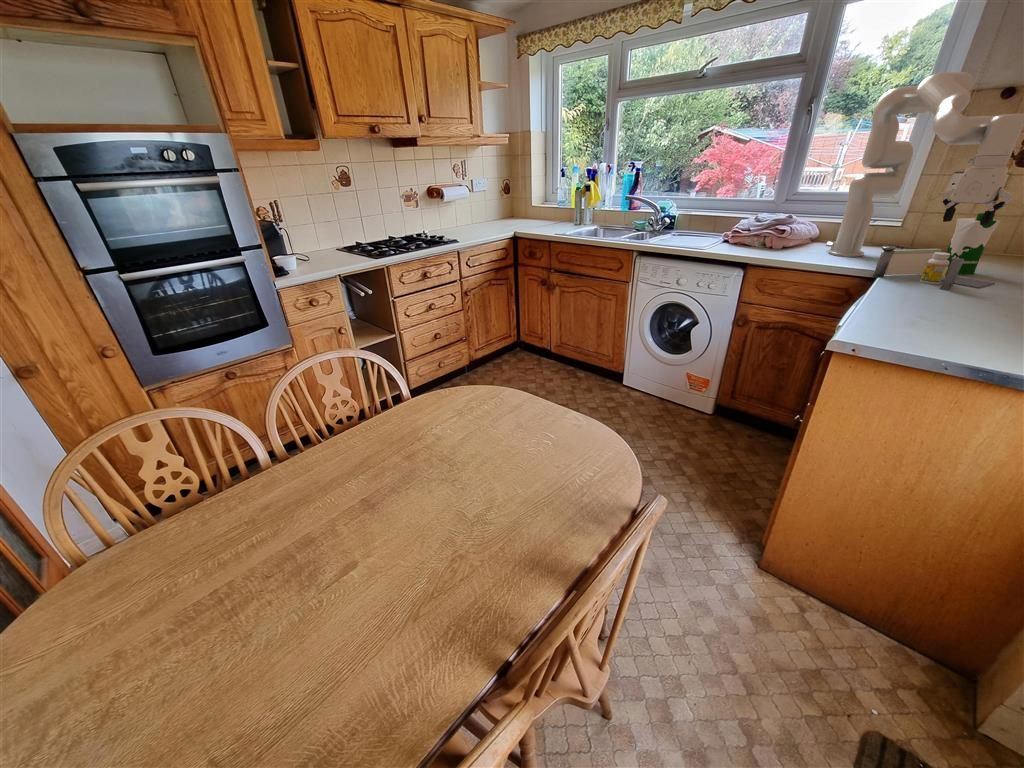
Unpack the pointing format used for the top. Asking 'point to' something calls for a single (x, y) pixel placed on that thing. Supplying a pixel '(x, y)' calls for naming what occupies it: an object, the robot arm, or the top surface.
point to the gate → (909, 261)
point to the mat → (971, 282)
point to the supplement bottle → (935, 268)
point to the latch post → (951, 273)
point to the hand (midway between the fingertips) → (964, 222)
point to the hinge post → (883, 261)
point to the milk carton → (970, 242)
